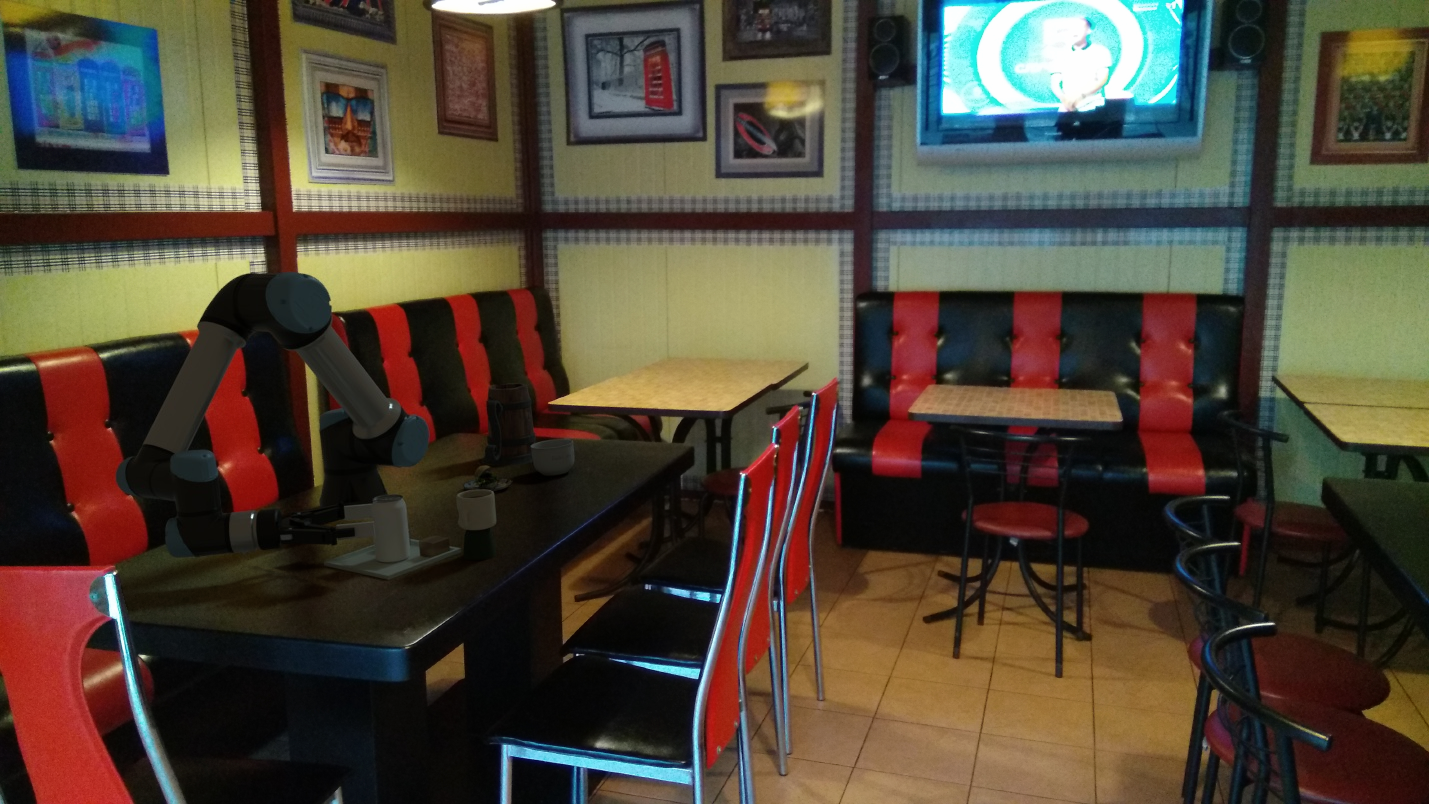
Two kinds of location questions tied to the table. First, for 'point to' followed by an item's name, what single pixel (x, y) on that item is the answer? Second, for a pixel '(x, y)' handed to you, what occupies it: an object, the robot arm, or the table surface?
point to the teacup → (553, 456)
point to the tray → (368, 565)
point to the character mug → (477, 523)
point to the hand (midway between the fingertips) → (377, 519)
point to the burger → (486, 480)
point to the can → (390, 528)
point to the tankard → (509, 425)
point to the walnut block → (433, 546)
